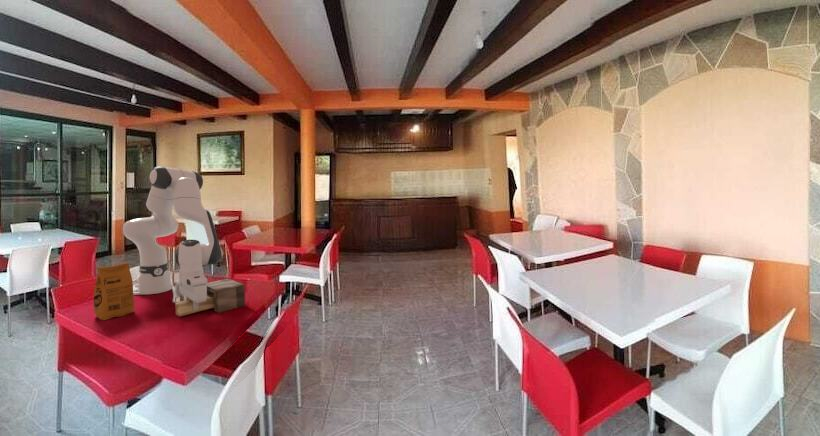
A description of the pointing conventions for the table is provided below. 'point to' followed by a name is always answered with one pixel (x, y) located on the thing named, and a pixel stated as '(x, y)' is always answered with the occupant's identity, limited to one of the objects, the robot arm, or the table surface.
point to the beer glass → (176, 287)
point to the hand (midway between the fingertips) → (192, 307)
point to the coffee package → (113, 292)
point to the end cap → (226, 294)
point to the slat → (192, 307)
